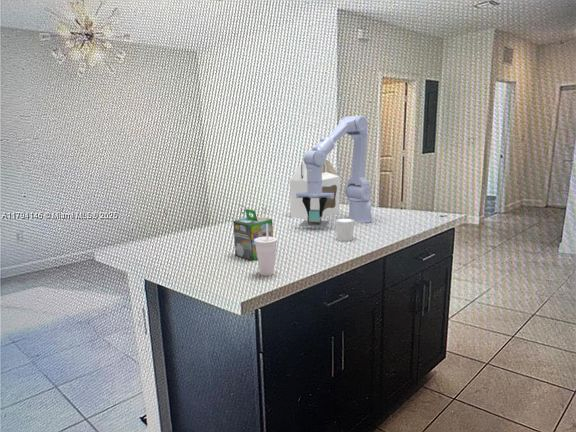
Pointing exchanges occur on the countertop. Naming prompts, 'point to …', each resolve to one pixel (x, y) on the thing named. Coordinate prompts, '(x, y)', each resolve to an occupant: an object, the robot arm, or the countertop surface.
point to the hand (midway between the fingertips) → (315, 216)
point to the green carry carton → (250, 234)
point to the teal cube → (314, 216)
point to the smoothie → (266, 253)
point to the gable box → (328, 186)
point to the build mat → (323, 224)
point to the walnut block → (313, 222)
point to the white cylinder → (344, 229)
